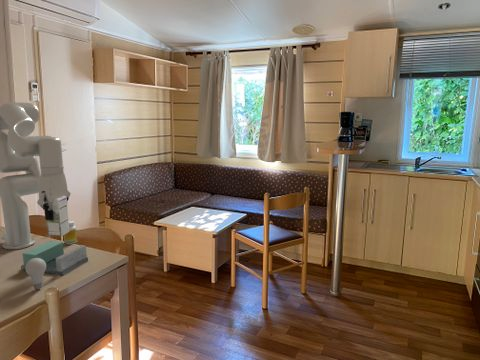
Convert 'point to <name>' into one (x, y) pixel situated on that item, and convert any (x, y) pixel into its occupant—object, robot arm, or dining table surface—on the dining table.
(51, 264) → the base
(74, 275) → the dining table surface
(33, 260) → the lightbulb
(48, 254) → the teal green rectangular block
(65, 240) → the supplement bottle
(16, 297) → the dining table surface
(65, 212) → the syrup box
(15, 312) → the dining table surface
